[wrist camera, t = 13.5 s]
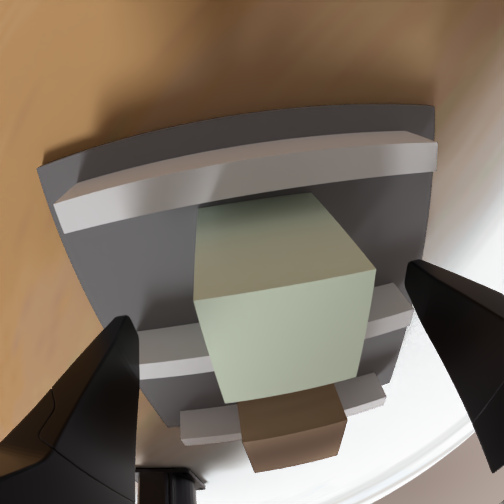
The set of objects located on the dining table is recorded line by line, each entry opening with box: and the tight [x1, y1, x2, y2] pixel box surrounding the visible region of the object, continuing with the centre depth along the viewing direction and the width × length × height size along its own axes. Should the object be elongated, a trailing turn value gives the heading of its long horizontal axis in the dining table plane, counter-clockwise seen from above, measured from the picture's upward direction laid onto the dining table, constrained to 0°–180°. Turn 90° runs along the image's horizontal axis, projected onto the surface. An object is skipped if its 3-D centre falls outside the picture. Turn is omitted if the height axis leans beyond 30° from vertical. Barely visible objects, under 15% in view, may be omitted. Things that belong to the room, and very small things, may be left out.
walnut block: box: [237, 383, 347, 473], centre depth 13 cm, size 4×4×5 cm
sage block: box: [193, 192, 376, 403], centre depth 10 cm, size 4×4×5 cm
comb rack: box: [37, 104, 438, 446], centre depth 13 cm, size 17×15×2 cm
